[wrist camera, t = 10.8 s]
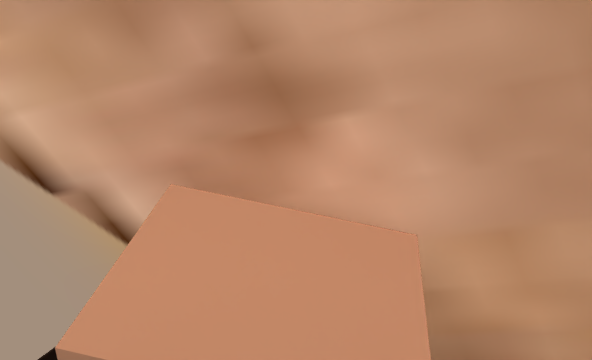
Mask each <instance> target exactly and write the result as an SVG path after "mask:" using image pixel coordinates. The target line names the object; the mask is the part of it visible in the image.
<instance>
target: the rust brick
mask: <svg viewBox="0 0 592 360" xmlns="http://www.w3.org/2000/svg"><path fill="white" fill-rule="evenodd" d="M55 350H56V355H57V359H58V360H431V356H430V347H429V338H428V329H427V320H426V311H425V302H424V293H423V284H422V275H421V266H420V258H419V249H418V240H417V235H414V234H409V233H405V232H400V231H395V230H390V229H385V228H380V227H376V226H371V225H366V224H361V223H356V222H351V221H347V220H342V219H337V218H332V217H327V216H322V215H318V214H313V213H308V212H303V211H298V210H294V209H289V208H284V207H279V206H274V205H269V204H265V203H260V202H255V201H250V200H245V199H240V198H236V197H231V196H226V195H221V194H216V193H211V192H207V191H202V190H197V189H192V188H187V187H183V186H178V185H173V184H171V185H170V186H169V188H168V189H167V190H166V192H165V193H164V195H163V196H162V197H161V199H160V200H159V202H158V203H157V205H156V206H155V207H154V209H153V210H152V212H151V213H150V214H149V216H148V217H147V219H146V220H145V221H144V223H143V224H142V226H141V227H140V229H139V230H138V231H137V233H136V234H135V236H134V237H133V238H132V240H131V241H130V243H129V244H128V245H127V247H126V248H125V250H124V251H123V253H122V254H121V256H120V257H119V258H118V260H117V261H116V262H115V264H114V265H113V267H112V268H111V270H110V271H109V272H108V274H107V275H106V277H105V278H104V279H103V281H102V282H101V284H100V285H99V286H98V288H97V289H96V291H95V292H94V293H93V295H92V296H91V298H90V299H89V301H88V302H87V304H86V305H85V306H84V308H83V309H82V310H81V312H80V313H79V315H78V316H77V318H76V319H75V320H74V322H73V323H72V325H71V326H70V328H69V329H68V330H67V332H66V333H65V334H64V336H63V337H62V339H61V340H60V342H59V343H58V345H57V346H56V347H55Z"/></svg>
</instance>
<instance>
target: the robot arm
mask: <svg viewBox="0 0 592 360" xmlns="http://www.w3.org/2000/svg"><path fill="white" fill-rule="evenodd" d="M38 360H58V359H57V355H56V350H55V347H54V348H53V349H52V350H50V351H49V352H48V353H46V354H45V355H43V356H42V357H41V358H39V359H38Z"/></svg>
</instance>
